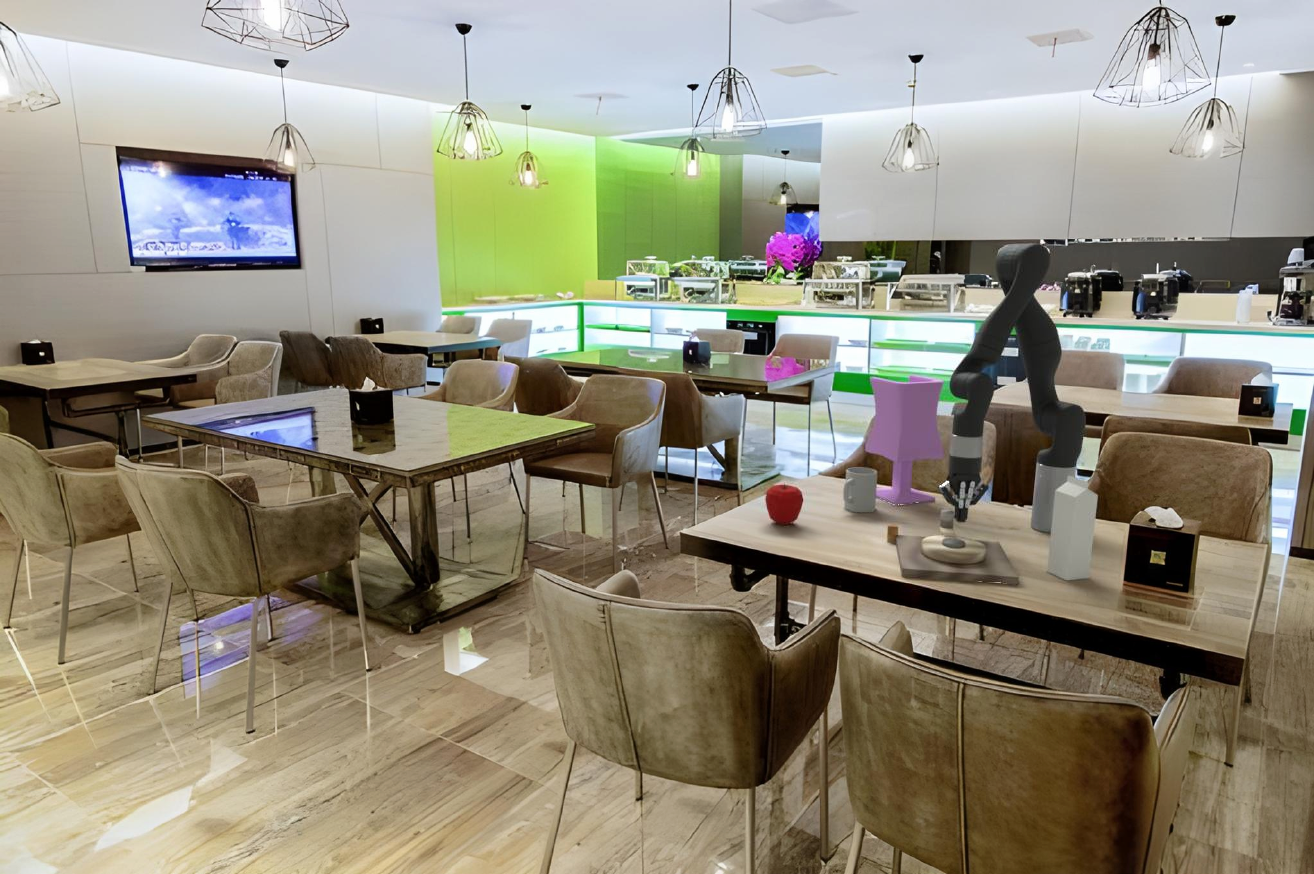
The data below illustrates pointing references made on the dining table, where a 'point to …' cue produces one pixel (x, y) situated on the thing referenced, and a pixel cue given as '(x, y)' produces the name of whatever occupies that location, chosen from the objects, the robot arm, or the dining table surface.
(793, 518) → the apple
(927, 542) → the crank handle
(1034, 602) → the dining table surface
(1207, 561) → the dining table surface
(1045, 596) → the dining table surface
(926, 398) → the table lamp
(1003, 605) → the dining table surface
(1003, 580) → the base plate
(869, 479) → the mug
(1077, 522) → the milk
